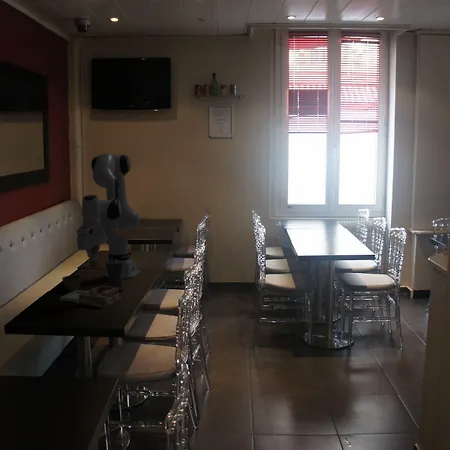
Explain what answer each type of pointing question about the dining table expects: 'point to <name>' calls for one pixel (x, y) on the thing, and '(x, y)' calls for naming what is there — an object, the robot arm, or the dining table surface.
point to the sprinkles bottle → (94, 256)
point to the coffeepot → (114, 273)
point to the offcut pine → (107, 293)
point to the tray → (72, 296)
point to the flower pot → (72, 282)
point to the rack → (94, 297)
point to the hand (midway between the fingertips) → (93, 255)
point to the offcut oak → (114, 291)
